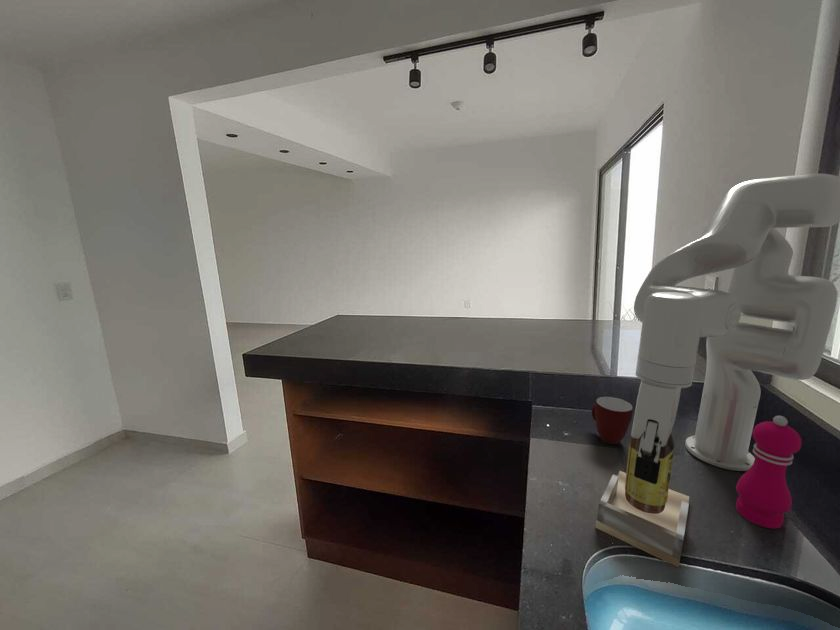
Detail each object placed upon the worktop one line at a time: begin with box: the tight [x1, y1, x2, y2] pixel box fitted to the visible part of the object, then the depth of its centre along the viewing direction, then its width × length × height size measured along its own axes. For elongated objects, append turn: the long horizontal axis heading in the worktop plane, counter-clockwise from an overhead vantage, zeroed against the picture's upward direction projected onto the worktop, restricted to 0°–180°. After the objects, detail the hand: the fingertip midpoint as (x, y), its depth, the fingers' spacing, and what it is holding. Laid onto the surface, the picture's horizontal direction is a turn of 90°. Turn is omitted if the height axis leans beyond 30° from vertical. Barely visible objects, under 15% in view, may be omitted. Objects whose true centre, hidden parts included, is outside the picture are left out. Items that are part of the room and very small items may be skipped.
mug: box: [591, 396, 634, 446], centre depth 89 cm, size 11×8×10 cm
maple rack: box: [595, 470, 690, 568], centre depth 65 cm, size 18×12×5 cm, turn 139°
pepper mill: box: [735, 415, 803, 530], centre depth 63 cm, size 7×7×20 cm
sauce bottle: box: [625, 423, 675, 514], centre depth 59 cm, size 7×6×20 cm
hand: (648, 468), depth 60 cm, fingers closed on sauce bottle, 6 cm apart
